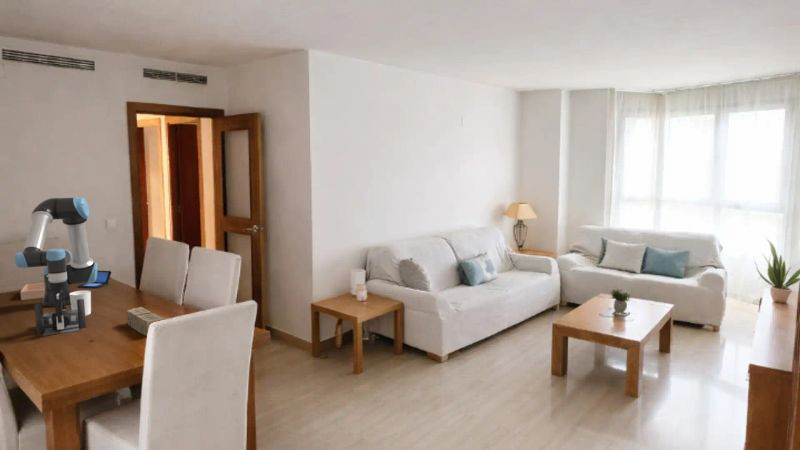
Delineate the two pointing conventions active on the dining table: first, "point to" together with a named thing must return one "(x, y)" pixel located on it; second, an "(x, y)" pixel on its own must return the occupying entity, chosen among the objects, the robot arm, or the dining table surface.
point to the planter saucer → (33, 291)
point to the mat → (61, 330)
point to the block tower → (141, 319)
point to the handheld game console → (98, 280)
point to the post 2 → (81, 313)
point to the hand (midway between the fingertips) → (61, 326)
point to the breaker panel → (48, 316)
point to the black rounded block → (65, 317)
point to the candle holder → (81, 295)
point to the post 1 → (39, 318)
